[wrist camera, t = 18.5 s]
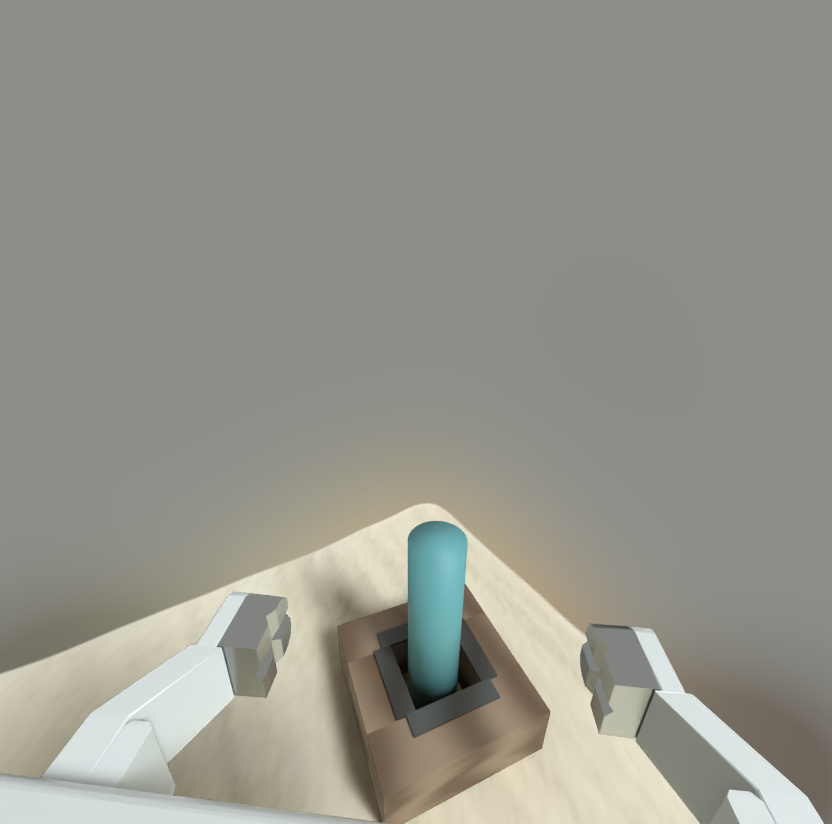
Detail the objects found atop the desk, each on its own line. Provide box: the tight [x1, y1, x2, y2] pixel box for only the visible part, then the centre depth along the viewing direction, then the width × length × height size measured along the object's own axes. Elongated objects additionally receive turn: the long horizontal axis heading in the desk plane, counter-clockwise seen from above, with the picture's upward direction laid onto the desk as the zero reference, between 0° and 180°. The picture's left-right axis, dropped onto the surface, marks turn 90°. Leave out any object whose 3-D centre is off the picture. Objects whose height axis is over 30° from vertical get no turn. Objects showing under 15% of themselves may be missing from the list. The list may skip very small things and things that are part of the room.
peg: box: [408, 521, 468, 710], centre depth 33 cm, size 4×4×18 cm
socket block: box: [338, 584, 550, 824], centre depth 37 cm, size 14×14×5 cm
